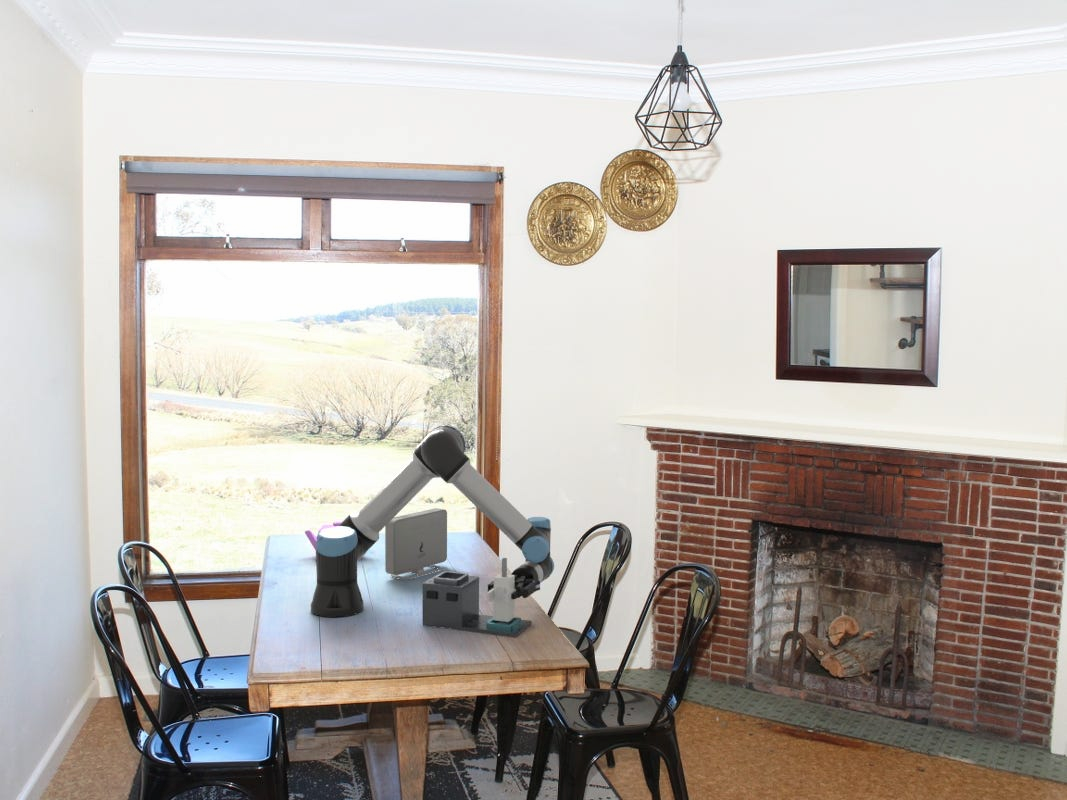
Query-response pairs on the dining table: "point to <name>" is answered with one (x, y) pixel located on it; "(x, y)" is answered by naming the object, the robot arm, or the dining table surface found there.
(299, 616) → the dining table surface
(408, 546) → the network device
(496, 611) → the plug
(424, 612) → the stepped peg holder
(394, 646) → the dining table surface
